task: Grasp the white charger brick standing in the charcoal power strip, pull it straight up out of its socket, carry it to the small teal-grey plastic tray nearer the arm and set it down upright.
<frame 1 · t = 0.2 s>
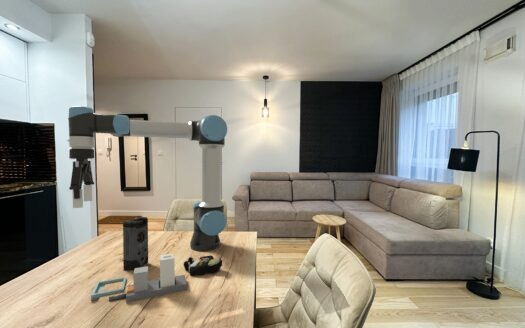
hand: (83, 204, 91), 28 cm above the table, fingers open, 13 cm apart
tray: (110, 290, 82), on the table
toy: (203, 272, 96), on the table
charger: (167, 288, 82), point 1 cm above the table, touching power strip
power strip: (157, 293, 81), on the table
electronic device: (136, 267, 100), on the table
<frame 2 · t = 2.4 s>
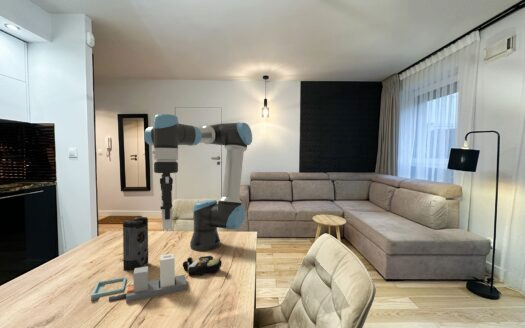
hand: (166, 223, 81), 23 cm above the table, fingers open, 13 cm apart
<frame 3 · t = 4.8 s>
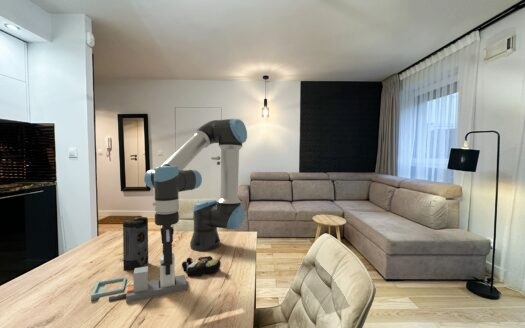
hand: (167, 279, 82), 4 cm above the table, fingers closed on charger, 4 cm apart
charger: (167, 288, 82), point 1 cm above the table, touching gripper, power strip
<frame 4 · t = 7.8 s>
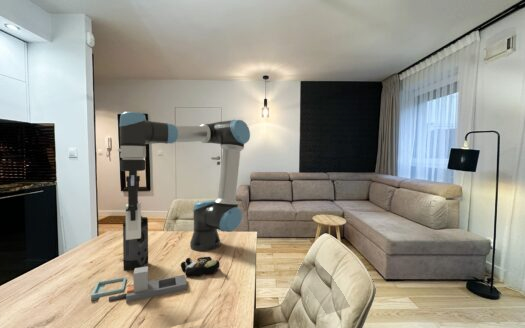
hand: (133, 227, 81), 22 cm above the table, fingers closed on charger, 4 cm apart
charger: (133, 237, 81), point 19 cm above the table, touching gripper
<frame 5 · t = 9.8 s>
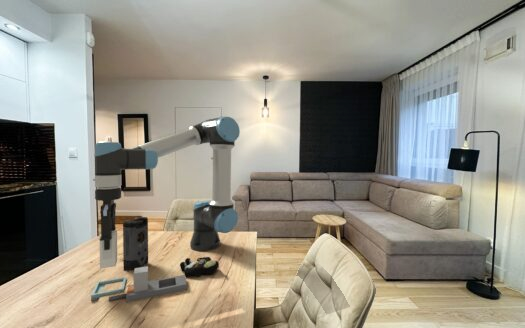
hand: (108, 255, 82), 12 cm above the table, fingers closed on charger, 4 cm apart
charger: (108, 264, 82), point 9 cm above the table, touching gripper
when the fingers open (5 cm above the table, at t = 11.1 s): charger drops 1 cm, resting on tray.
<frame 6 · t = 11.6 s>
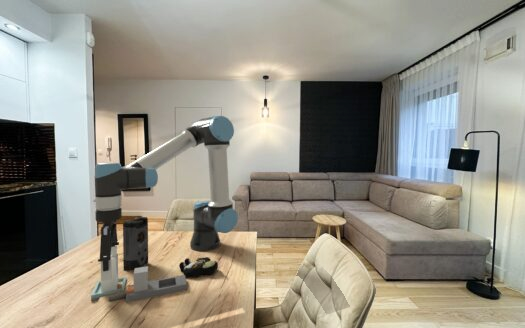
hand: (109, 271, 82), 7 cm above the table, fingers open, 11 cm apart
charger: (110, 288, 82), point 1 cm above the table, touching tray
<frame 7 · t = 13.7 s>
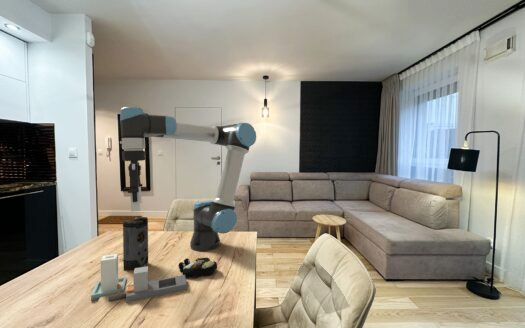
hand: (136, 207, 90), 27 cm above the table, fingers open, 13 cm apart
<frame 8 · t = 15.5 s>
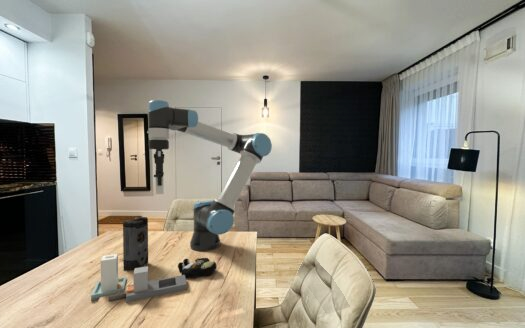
hand: (159, 191, 98), 32 cm above the table, fingers open, 13 cm apart
at the end: charger inside the target area on the tray (0.0 cm from its centre), point 0.6 cm above the tray's base; charger tilted 0°; charger touching tray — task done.
